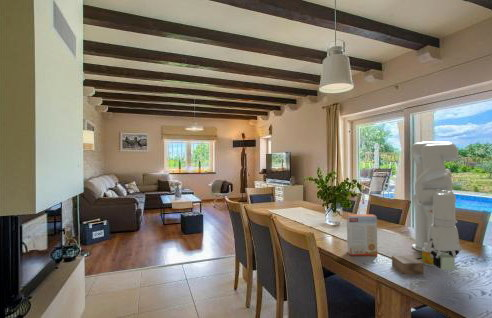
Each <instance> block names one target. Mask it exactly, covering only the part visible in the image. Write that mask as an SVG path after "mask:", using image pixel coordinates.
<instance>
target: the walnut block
mask: <svg viewBox="0 0 492 318" xmlns="http://www.w3.org/2000/svg"><path fill="white" fill-rule="evenodd" d="M391 267H393V268H395V269H396V270H397V271H398V272H400V273H401V274H402V275H424V274H425V273H424V271H425V268H424V267H425V264H424V263H423V262H422V260H419V259H417V258H416V257H414V256H413V255H391Z"/></svg>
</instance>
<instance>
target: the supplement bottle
mask: <svg viewBox="0 0 492 318" xmlns="http://www.w3.org/2000/svg"><path fill="white" fill-rule="evenodd" d="M427 245H428V243H424V247H423V248H422V251H421V262H423V263H424V266H425V265H426V266H430V267H434V266H435V265H434V263H433V256H432V254H431V253H430V252H428V251H427V250H426V249H425V248H426V246H427ZM431 250H432V251H433V248H431ZM435 267H436V266H435Z"/></svg>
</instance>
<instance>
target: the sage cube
mask: <svg viewBox="0 0 492 318" xmlns="http://www.w3.org/2000/svg"><path fill="white" fill-rule="evenodd" d="M439 258H440V268H439V269H440V270H442V271H449V270H451V271H453V270H455V267H456V266H455V265H456V264H455V263H456V262H455V260H456V258H455V257H453V256H451V255H449V254H448V252H440V256H439Z"/></svg>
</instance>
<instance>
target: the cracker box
mask: <svg viewBox="0 0 492 318" xmlns="http://www.w3.org/2000/svg"><path fill="white" fill-rule="evenodd" d="M346 243H347V245H346V246H347V247H346V248H347V249H346V250H347V253H348V254H349V256H364V257H366V256H369V257H377V256H378V217H377V216H376V214H373V213H372V214H370V213H369V214H367V213H366V214H365V213H363V214H361V213H360V214H358V213H356V214H355V213H351V214H350V213H347V214H346Z"/></svg>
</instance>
